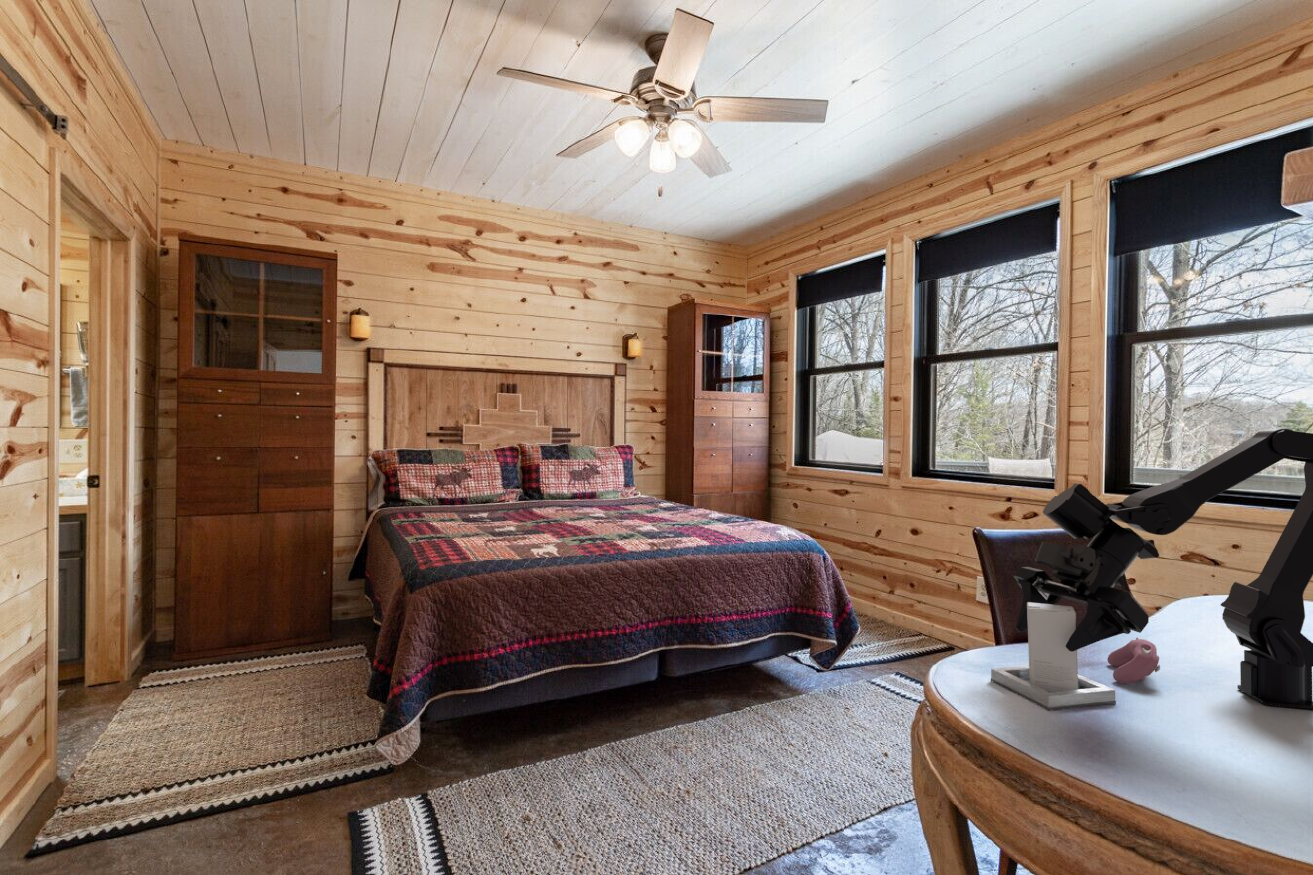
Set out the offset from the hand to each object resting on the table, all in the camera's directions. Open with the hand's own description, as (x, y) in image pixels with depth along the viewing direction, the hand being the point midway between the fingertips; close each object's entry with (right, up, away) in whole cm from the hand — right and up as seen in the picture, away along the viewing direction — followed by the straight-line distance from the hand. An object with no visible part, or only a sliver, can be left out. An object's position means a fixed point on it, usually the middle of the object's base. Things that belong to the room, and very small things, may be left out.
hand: (1041, 639), depth 93 cm
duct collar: (+1, -8, 0) cm, 8 cm away
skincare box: (+2, -8, 0) cm, 8 cm away
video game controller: (+18, -8, +6) cm, 21 cm away
